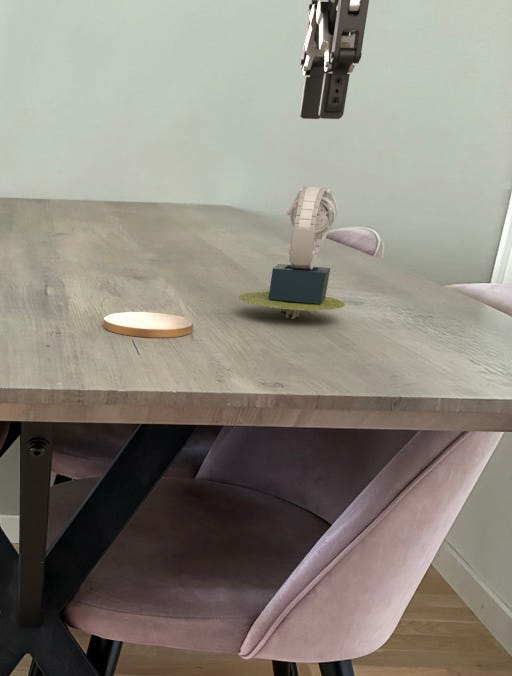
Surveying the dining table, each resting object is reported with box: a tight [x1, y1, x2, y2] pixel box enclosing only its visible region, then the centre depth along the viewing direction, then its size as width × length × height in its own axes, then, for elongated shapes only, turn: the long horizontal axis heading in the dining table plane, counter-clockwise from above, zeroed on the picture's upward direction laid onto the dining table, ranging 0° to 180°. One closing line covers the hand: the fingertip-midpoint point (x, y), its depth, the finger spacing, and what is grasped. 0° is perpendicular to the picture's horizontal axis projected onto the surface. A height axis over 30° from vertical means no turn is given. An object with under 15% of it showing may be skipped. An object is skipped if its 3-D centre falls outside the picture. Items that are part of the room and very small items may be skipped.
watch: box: [268, 186, 339, 304], centre depth 101 cm, size 6×8×11 cm
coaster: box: [102, 311, 194, 339], centre depth 96 cm, size 9×9×1 cm
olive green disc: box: [238, 291, 346, 320], centre depth 103 cm, size 11×11×2 cm
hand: (319, 118), depth 95 cm, fingers open, 8 cm apart
